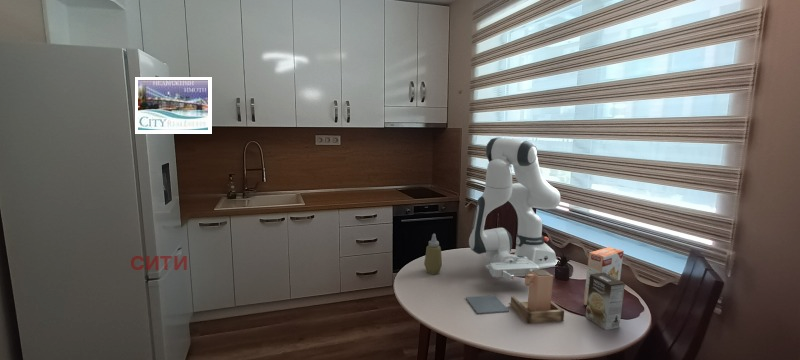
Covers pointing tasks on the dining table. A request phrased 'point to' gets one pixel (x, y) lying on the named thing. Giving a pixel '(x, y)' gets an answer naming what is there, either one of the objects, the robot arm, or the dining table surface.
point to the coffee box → (605, 300)
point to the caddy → (537, 312)
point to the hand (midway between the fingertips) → (523, 277)
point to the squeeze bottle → (433, 256)
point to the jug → (539, 290)
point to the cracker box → (603, 265)
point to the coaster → (486, 304)
